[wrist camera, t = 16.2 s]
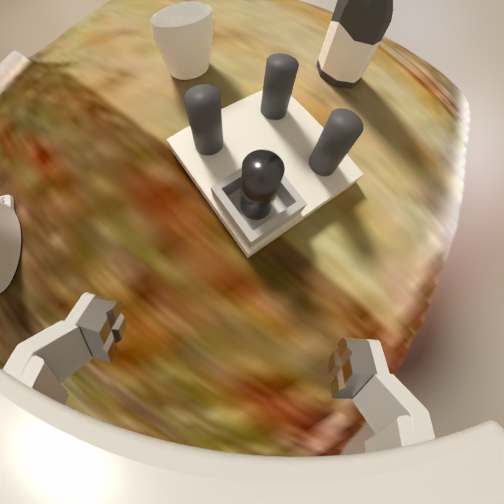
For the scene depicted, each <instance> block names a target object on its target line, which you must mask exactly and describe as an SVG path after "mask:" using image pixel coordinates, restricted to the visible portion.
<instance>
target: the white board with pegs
mask: <svg viewBox="0 0 504 504" xmlns="http://www.w3.org/2000/svg"><path fill="white" fill-rule="evenodd" d="M298 66H299V64H298V61H297V60H296V59H295V58H293V57H292V56H289V55H286V54H273V55H271V56H269V57H268V58H267V63H266V70H265V78H264V86H263V90H262V91H259V92H257V93H255V94H252V95H250V96H248V97H246V98H244V99H241V100H239V101H237V102H235V103H233V104H231V105H229V106H227V107H225V108H223V109H221V99H220V91H219V89H218V88H217V87H215V86H213V85H210V84H200V85H196V86H194V87H192V88H190V89H189V90H188V91H187V92H186V93H185V96H184V101H185V105H186V110H187V114H188V118H189V123H190V126H189V127H187V128H185V129H183V130H182V131H180V132H178V133H176V134H175V135H173V136H171V137H170V138H168V139H166V140H167V142H168V145H169V147H170V149H171V151H172V152H173V154H174V155H175V157H176V158H177V159H178V161H179V162H180V164H181V165H182V167H183V168H184V169H185V171H186V172H187V174H188V175H189V176H190V178H191V179H192V181H193V182H194V184H195V185H196V186H197V188H198V189H199V191H200V192H201V193H202V195H203V196H204V198H205V199H206V200H207V202H208V203H209V205H210V206H211V207H212V209H213V210H214V212H215V213H216V215H217V216H218V217H219V219H220V220H221V222H222V223H223V224H224V226H225V227H226V229H227V230H228V231H229V233H230V234H231V236H232V237H233V238H234V240H235V241H236V243H237V244H238V245H239V247H240V248H241V250H242V251H243V252H244V254H245V255H246V257H247V258H248V257H250V256H251V255H253V254H254V253H256V252H257V251H259V250H260V249H261V248H263V247H264V246H266V245H267V244H269V243H270V242H271V241H273V240H274V239H276V238H277V237H279V236H280V235H281V234H283V233H284V232H286V231H287V230H289V229H290V228H292V227H293V226H294V225H296V224H297V223H299V222H300V221H302V220H303V219H304V218H306V217H307V216H309V215H310V214H312V213H313V212H314V211H316V210H317V209H319V208H320V207H322V206H323V205H324V204H326V203H327V202H329V201H330V200H332V199H333V198H334V197H336V196H337V195H339V194H340V193H342V192H343V191H344V190H346V189H347V188H349V187H350V186H352V185H353V184H354V183H356V182H357V181H358V180H359V179H360V178H361V177H362V176H363V175H364V174H363V173H362V172H361V171H360V169H359V168H358V167H357V166H356V164H355V163H354V162H353V161H352V160H351V158H350V157H349V156H348V155H347V153H348V151H349V150H350V149H351V147H352V146H353V144H354V143H355V142H356V140H357V139H358V137H359V136H360V134H361V133H362V131H363V123H362V121H361V119H360V118H359V117H358V116H357V115H356V114H355V113H353V112H352V111H350V110H347V109H341V108H340V109H336V110H334V111H332V113H331V115H330V117H329V119H328V121H327V123H326V125H325V127H324V128H323V127H322V126H321V125H320V124H319V123H318V122H317V121H316V120H315V119H314V118H313V117H312V116H311V115H310V114H309V113H308V112H307V111H306V110H305V109H304V108H303V107H302V106H301V105H300V104H299V103H298V102H297V101H296V100H295V99H294V98H293V97H292V96H291V93H292V89H293V85H294V81H295V78H296V74H297V70H298ZM261 149H264V150H269V151H272V152H274V153H276V154H277V155H278V156H279V157H280V158H281V159H282V161H283V163H284V167H285V171H284V175H283V178H282V181H281V183H280V186H279V189H278V192H277V194H276V197H275V200H274V203H273V206H272V208H271V211H270V213H269V214H268V215H267V216H266V217H265V218H263V219H260V220H253V219H250V218H248V217H246V216H245V215H244V214H243V212H242V211H241V207H240V199H241V175H242V163H243V160H244V158H245V157H246V156H247V155H248V154H249V153H251V152H253V151H255V150H261Z"/></svg>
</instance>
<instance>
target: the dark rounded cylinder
mask: <svg viewBox="0 0 504 504" xmlns="http://www.w3.org/2000/svg"><path fill="white" fill-rule="evenodd" d="M284 171H285V167H284V163H283V161H282V159H281V158H280V157H279V156H278V155H277V154H276V153H274V152H272V151H269V150H264V149H261V150H255V151H253V152H251V153H249V154H248V155H247V156H246V157H245V158H244V160H243V163H242V175H241V199H240V207H241V211H242V212H243V214H244V215H245V216H246V217H248V218H250V219H253V220H260V219H263V218H265V217H266V216H267V215H268V214H269V213H270V211H271V208H272V206H273V203H274V200H275V197H276V194H277V192H278V189H279V186H280V183H281V181H282V178H283V175H284Z"/></svg>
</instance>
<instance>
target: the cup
mask: <svg viewBox="0 0 504 504" xmlns="http://www.w3.org/2000/svg"><path fill="white" fill-rule="evenodd" d="M150 21H151V27H152V34H153V38H154V40H155V42H156V45H157V47H158V49H159V51H160V53H161V55H162V57H163V59H164V61H165V63H166V65H167V68H168V70H169V72H170V74H171V75H172V76H173V77H174V78H176V79H181V80H188V79H193V78H196V77H199V76H201V75H203V74H204V73H205V72H206V71H207V70H208V68H209V61H210V53H211V45H212V37H213V30H214V21H213V14H212V8H211V6H210V5H208V4H206V3H203V2H197V1H188V2H180V3H176V4H172V5H169V6H166V7H164V8H162V9H160V10H159V11H157V12H156V13H155V14H154V15H153V16H152V17H151V20H150Z"/></svg>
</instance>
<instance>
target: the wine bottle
mask: <svg viewBox="0 0 504 504" xmlns="http://www.w3.org/2000/svg"><path fill="white" fill-rule="evenodd" d="M392 12H393V0H338V1H337V4H336V7H335V11H334V13H333V16H332V19H331V22H330V25H329V29H328V32H327V35H326V38H325V41H324V44H323V47H322V50H321V53H320V56H319V59H318V62H317V68H318V71H319V74H320V76H321V77H322V78H324V79H325V80H327V81H328V82H330V83H331V84H333V85H334V86H339V87H346V88H352V87H353V86H354V85H355V84H357V83H358V82H359V81H360V79H361V78H362V76H363V74H364V72H365V70H366V68H367V66H368V64H369V63H370V61H371V59H372V57H373V55H374V53H375V51H376V49H377V47H378V45H379V43H380V41H381V40H382V38H383V36H384V33H385V32H386V30H387V28H388V26H389V24H390V22H391V18H392Z"/></svg>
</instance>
